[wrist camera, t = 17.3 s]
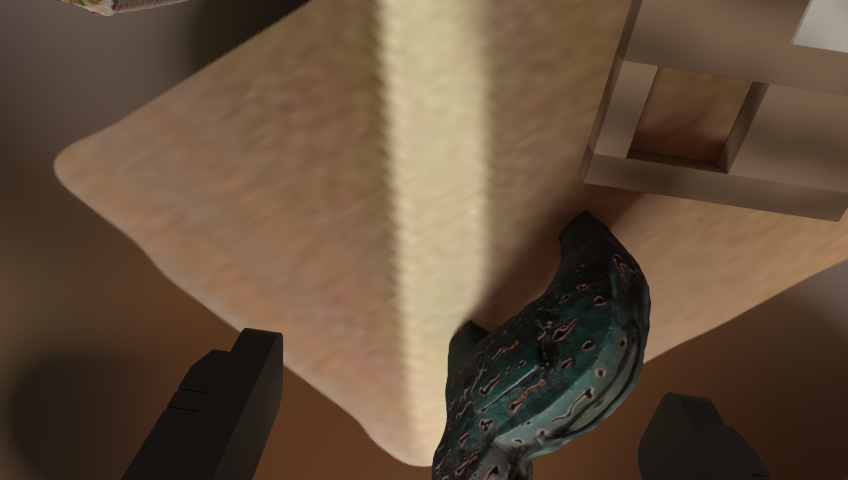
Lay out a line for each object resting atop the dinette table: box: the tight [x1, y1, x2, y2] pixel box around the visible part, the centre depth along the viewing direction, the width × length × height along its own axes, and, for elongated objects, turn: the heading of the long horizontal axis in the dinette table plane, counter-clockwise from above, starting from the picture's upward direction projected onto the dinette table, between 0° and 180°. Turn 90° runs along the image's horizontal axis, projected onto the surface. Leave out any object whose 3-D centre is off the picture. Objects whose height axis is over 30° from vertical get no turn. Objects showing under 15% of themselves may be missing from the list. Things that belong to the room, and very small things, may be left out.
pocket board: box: [579, 0, 848, 222], centre depth 34 cm, size 21×19×2 cm
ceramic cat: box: [432, 211, 651, 480], centre depth 37 cm, size 20×6×20 cm, turn 144°
